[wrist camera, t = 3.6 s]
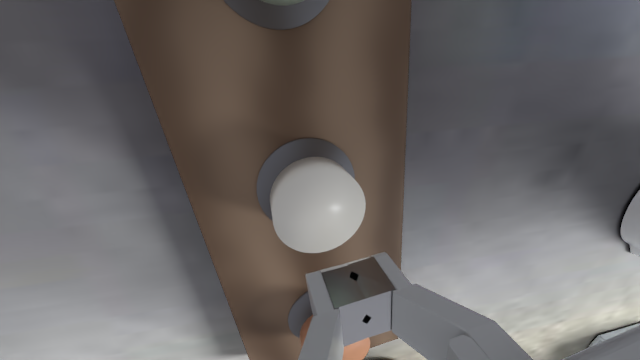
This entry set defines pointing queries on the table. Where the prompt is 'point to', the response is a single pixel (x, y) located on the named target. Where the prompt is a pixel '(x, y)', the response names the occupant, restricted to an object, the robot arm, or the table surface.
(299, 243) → the button cream
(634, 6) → the table surface
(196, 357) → the table surface
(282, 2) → the button sage
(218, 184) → the button panel
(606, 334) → the tea box
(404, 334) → the robot arm
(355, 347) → the button terracotta
